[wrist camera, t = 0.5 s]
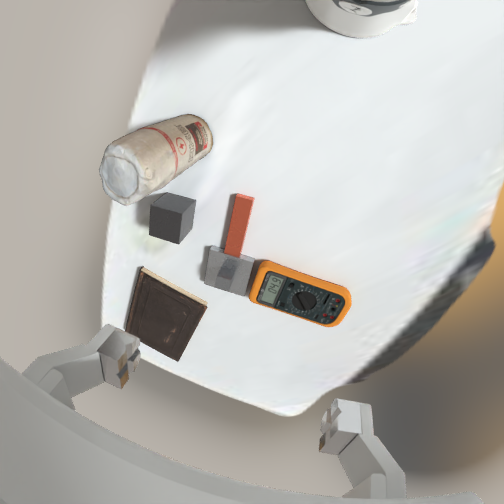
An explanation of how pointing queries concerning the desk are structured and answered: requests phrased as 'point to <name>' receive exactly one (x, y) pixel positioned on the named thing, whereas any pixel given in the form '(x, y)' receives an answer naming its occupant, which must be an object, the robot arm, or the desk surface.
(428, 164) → the desk surface
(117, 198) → the spray can
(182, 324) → the hardcover book
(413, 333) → the desk surface
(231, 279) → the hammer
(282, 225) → the desk surface
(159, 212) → the brushed metal cube
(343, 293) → the multimeter
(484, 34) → the desk surface
